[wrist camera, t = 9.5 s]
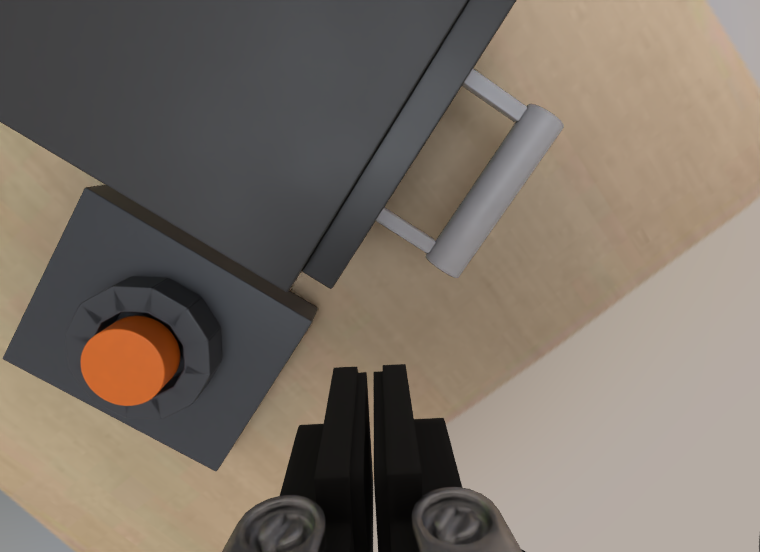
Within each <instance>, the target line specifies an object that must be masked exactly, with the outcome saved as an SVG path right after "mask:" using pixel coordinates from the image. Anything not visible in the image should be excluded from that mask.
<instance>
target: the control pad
mask: <svg viewBox="0 0 760 552" xmlns="http://www.w3.org/2000/svg"><path fill="white" fill-rule="evenodd" d="M316 311H317V307H315V306H314V305H312V304H310V303H309V302H307V301H305V300H304V299H302V298H300V297H299V296H297V295H295V294H294V293H292V292H290V291H288V292H285V291H283V290H282V289H280V288H278V287H277V286H275V285H273V284H272V283H270V282H268V281H266V280H265V279H263V278H261V277H260V276H258V275H256V274H255V273H253V272H251V271H250V270H248V269H246V268H245V267H243V266H241V265H240V264H238V263H236V262H235V261H233V260H231V259H230V258H228V257H226V256H225V255H223V254H221V253H220V252H218V251H216V250H214V249H213V248H211V247H209V246H208V245H206V244H204V243H203V242H201V241H199V240H198V239H196V238H194V237H193V236H191V235H189V234H188V233H186V232H184V231H183V230H181V229H179V228H178V227H176V226H174V225H173V224H171V223H169V222H168V221H166V220H164V219H162V218H161V217H159V216H157V215H156V214H154V213H152V212H151V211H149V210H147V209H146V208H144V207H142V206H141V205H139V204H137V203H136V202H134V201H132V200H131V199H129V198H127V197H126V196H124V195H122V194H121V193H119V192H117V191H116V190H114V189H112V188H110V187H109V186H107V185H102V186H93V187H86V188H85V189H84V191H83V193H82V195H81V197H80V199H79V201H78V203H77V205H76V208H75V210H74V212H73V214H72V216H71V218H70V220H69V222H68V224H67V226H66V228H65V230H64V232H63V234H62V237H61V239H60V241H59V243H58V245H57V247H56V249H55V251H54V253H53V255H52V257H51V259H50V261H49V263H48V266H47V268H46V270H45V272H44V274H43V276H42V278H41V280H40V282H39V284H38V286H37V288H36V290H35V292H34V295H33V297H32V299H31V301H30V303H29V305H28V307H27V309H26V311H25V313H24V315H23V317H22V319H21V321H20V324H19V326H18V328H17V330H16V332H15V334H14V336H13V338H12V340H11V342H10V344H9V346H8V348H7V350H6V353H5V355H4V357H3V359H4V360H6V361H8V362H9V363H11V364H13V365H15V366H17V367H19V368H21V369H23V370H25V371H26V372H28V373H30V374H32V375H34V376H36V377H38V378H40V379H42V380H44V381H45V382H47V383H49V384H51V385H53V386H55V387H57V388H59V389H61V390H62V391H64V392H66V393H68V394H70V395H72V396H74V397H76V398H78V399H80V400H81V401H83V402H85V403H87V404H89V405H91V406H93V407H95V408H97V409H98V410H100V411H102V412H104V413H106V414H108V415H110V416H112V417H114V418H116V419H117V420H119V421H121V422H123V423H125V424H127V425H129V426H131V427H133V428H134V429H136V430H138V431H140V432H142V433H144V434H146V435H148V436H150V437H152V438H153V439H155V440H157V441H159V442H161V443H163V444H165V445H167V446H169V447H170V448H172V449H174V450H176V451H178V452H180V453H182V454H184V455H186V456H188V457H189V458H191V459H193V460H195V461H197V462H199V463H201V464H203V465H205V466H207V467H208V468H210V469H212V470H214V471H217V470H218V469H219V467H220V466H221V464H222V463H223V461H224V459H225V458H226V456H227V455H228V453H229V452H230V450H231V448H232V447H233V445H234V444H235V442H236V441H237V439H238V438H239V436H240V434H241V433H242V431H243V430H244V428H245V427H246V425H247V423H248V422H249V420H250V419H251V417H252V416H253V414H254V413H255V411H256V409H257V408H258V406H259V405H260V403H261V402H262V400H263V398H264V397H265V395H266V394H267V392H268V391H269V389H270V388H271V386H272V384H273V383H274V381H275V380H276V378H277V377H278V375H279V373H280V372H281V370H282V369H283V367H284V366H285V364H286V363H287V361H288V359H289V358H290V356H291V355H292V353H293V352H294V350H295V348H296V347H297V345H298V344H299V342H300V341H301V339H302V338H303V336H304V334H305V333H306V331H307V330H308V328H309V327H310V325H311V323H312V322H313V319H314V317H315V314H316ZM129 316H144V317H148V318H151V319H154V320H156V321H158V322H160V323H161V324H163V325H164V326H165V327H167V328H168V329H169V330H170V331H171V333H172V334H173V335H174V337H175V339H176V340H177V343H178V345H179V349H180V364H179V367H178V369H177V371H176V373H175V375H174V376H173V377H172V378H171V379H170V380H169V381H168V382H167V384H166V385H165V386H164V387H163V388H162V389H161V390H160V391H159V392H158V393H157V394H156V395H155V396H154V397H153V398H152V399H150V400H149V401H147V402H145V403H142V404H139V405H134V406H122V405H117V404H113V403H110V402H108V401H106V400H104V399H102V398H101V397H99V396H98V395H97V394H95V393H94V392H93V391H92V390H91V388H90V387H89V386H88V384H87V383H86V381H85V379H84V377H83V374H82V371H81V355H82V351H83V349H84V347H85V345H86V343H87V342H88V341H89V340H90V339H91V338H92V337H93V336H94V335H96V334H97V333H99V332H101V331H102V330H104V329H105V328H107V327H108V326H110V325H111V324H113V323H115V322H116V321H118V320H120V319H122V318H125V317H129Z"/></svg>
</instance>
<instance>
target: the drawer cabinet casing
mask: <svg viewBox="0 0 760 552" xmlns="http://www.w3.org/2000/svg"><path fill="white" fill-rule="evenodd" d="M467 1H468V0H0V122H1V123H3V124H5V125H6V126H8V127H10V128H12V129H13V130H15V131H17V132H18V133H20V134H22V135H23V136H25V137H27V138H28V139H30V140H32V141H33V142H35V143H37V144H38V145H40V146H42V147H43V148H45V149H47V150H48V151H50V152H52V153H53V154H55V155H57V156H58V157H60V158H62V159H64V160H65V161H67V162H69V163H70V164H72V165H74V166H75V167H77V168H79V169H80V170H82V171H84V172H85V173H87V174H89V175H90V176H92V177H94V178H95V179H97V180H99V181H100V182H102V183H104V184H105V185H107V186H109V187H110V188H112V189H114V190H116V191H117V192H119V193H121V194H122V195H124V196H126V197H127V198H129V199H131V200H132V201H134V202H136V203H137V204H139V205H141V206H142V207H144V208H146V209H147V210H149V211H151V212H152V213H154V214H156V215H157V216H159V217H161V218H162V219H164V220H166V221H168V222H169V223H171V224H173V225H174V226H176V227H178V228H179V229H181V230H183V231H184V232H186V233H188V234H189V235H191V236H193V237H194V238H196V239H198V240H199V241H201V242H203V243H204V244H206V245H208V246H209V247H211V248H213V249H214V250H216V251H218V252H220V253H221V254H223V255H225V256H226V257H228V258H230V259H231V260H233V261H235V262H236V263H238V264H240V265H241V266H243V267H245V268H246V269H248V270H250V271H251V272H253V273H255V274H256V275H258V276H260V277H261V278H263V279H265V280H266V281H268V282H270V283H272V284H273V285H275V286H277V287H278V288H280V289H282V290H283V291H285V292H288V291H289V289H290V288H291V286H292V285H293V283H294V282H295V280H296V279H297V277H298V276H299V274H300V273H301V271H302V269H303V267H304V265H305V264H306V262H307V261H308V259H309V257H310V256H311V254H312V253H313V251H314V249H315V248H316V246H317V244H318V243H319V241H320V240H321V238H322V236H323V235H324V233H325V231H326V230H327V228H328V227H329V225H330V223H331V222H332V220H333V218H334V217H335V215H336V214H337V212H338V210H339V209H340V207H341V206H342V204H343V202H344V201H345V199H346V197H347V196H348V194H349V193H350V191H351V189H352V188H353V186H354V184H355V183H356V181H357V180H358V178H359V176H360V175H361V173H362V171H363V170H364V168H365V167H366V165H367V163H368V162H369V160H370V159H371V157H372V155H373V154H374V152H375V150H376V149H377V147H378V146H379V144H380V142H381V141H382V139H383V137H384V136H385V134H386V133H387V131H388V129H389V128H390V126H391V125H392V123H393V121H394V120H395V118H396V116H397V115H398V113H399V112H400V110H401V108H402V107H403V105H404V103H405V102H406V100H407V99H408V97H409V95H410V94H411V92H412V90H413V89H414V87H415V86H416V84H417V82H418V81H419V79H420V78H421V76H422V74H423V73H424V71H425V69H426V68H427V66H428V65H429V63H430V61H431V60H432V58H433V56H434V55H435V53H436V52H437V50H438V48H439V47H440V45H441V43H442V42H443V40H444V39H445V37H446V35H447V34H448V32H449V31H450V29H451V27H452V26H453V24H454V22H455V21H456V19H457V18H458V16H459V14H460V13H461V11H462V9H463V8H464V6H465V5H466V3H467Z"/></svg>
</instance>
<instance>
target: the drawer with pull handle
mask: <svg viewBox="0 0 760 552" xmlns="http://www.w3.org/2000/svg"><path fill="white" fill-rule="evenodd" d="M515 2H516V0H468V1H467V3H466V5H465V6H464V8H463V9H462V11H461V13H460V14H459V16H458V18H457V19H456V21H455V22H454V24H453V26H452V27H451V29H450V31H449V32H448V34H447V35H446V37H445V39H444V40H443V42H442V43H441V45H440V47H439V48H438V50H437V52H436V53H435V55H434V56H433V58H432V60H431V61H430V63H429V65H428V66H427V68H426V69H425V71H424V73H423V74H422V76H421V78H420V79H419V81H418V82H417V84H416V86H415V87H414V89H413V90H412V92H411V94H410V95H409V97H408V99H407V100H406V102H405V103H404V105H403V107H402V108H401V110H400V112H399V113H398V115H397V116H396V118H395V120H394V121H393V123H392V125H391V126H390V128H389V129H388V131H387V133H386V134H385V136H384V137H383V139H382V141H381V142H380V144H379V146H378V147H377V149H376V150H375V152H374V154H373V155H372V157H371V159H370V160H369V162H368V163H367V165H366V167H365V168H364V170H363V171H362V173H361V175H360V176H359V178H358V180H357V181H356V183H355V184H354V186H353V188H352V189H351V191H350V193H349V194H348V196H347V197H346V199H345V201H344V202H343V204H342V206H341V207H340V209H339V210H338V212H337V214H336V215H335V217H334V218H333V220H332V222H331V223H330V225H329V227H328V228H327V230H326V231H325V233H324V235H323V236H322V238H321V240H320V241H319V243H318V244H317V246H316V248H315V249H314V251H313V253H312V254H311V256H310V257H309V259H308V261H307V262H306V264H305V265H304V267H303V269H302V272H304V273H305V274H307V275H309V276H310V277H312V278H314V279H315V280H317V281H319V282H320V283H322V284H324V285H325V286H327V287H328V288H330V289H332V288H333V287H334V285H335V283H336V282H337V280H338V279H339V277H340V276H341V274H342V272H343V271H344V269H345V268H346V266H347V265H348V263H349V261H350V260H351V258H352V257H353V255H354V254H355V252H356V251H357V249H358V247H359V246H360V244H361V243H362V241H363V240H364V238H365V236H366V235H367V233H368V232H369V230H370V229H371V227H372V226H373V224H374V222H375V221H377V222H378V223H380V224H381V225H383V226H385V227H386V228H388V229H389V230H391V231H392V232H394V233H396V234H397V235H399V236H400V237H402V238H403V239H405V240H407V241H408V242H410V243H411V244H413V245H414V246H416V247H418V248H419V249H421V250H422V251H424V252H425V253H427V254H426V258H427V260H428V261H429V262H431V263H432V264H433V265H434V266H436V267H437V268H438V269H440V270H441V271H443V272H445V273H446V274H448V275H450V276H452V277H454V278H458V277H459V276H460V275H461V273H462V272H463V270H464V269H465V267H466V266H467V265H468V263H469V262H470V260H471V259H472V257H473V256H474V255H475V253H476V252H477V250H478V249H479V248H480V246H481V245H482V243H483V242H484V240H485V239H486V238H487V236H488V235H489V233H490V232H491V230H492V229H493V228H494V226H495V225H496V223H497V222H498V220H499V219H500V218H501V216H502V215H503V213H504V212H505V210H506V209H507V208H508V206H509V205H510V203H511V202H512V201H513V199H514V198H515V196H516V195H517V193H518V192H519V191H520V189H521V188H522V186H523V185H524V183H525V182H526V181H527V179H528V178H529V176H530V175H531V173H532V172H533V171H534V169H535V168H536V166H537V165H538V163H539V162H540V161H541V159H542V158H543V156H544V155H545V153H546V152H547V151H548V149H549V148H550V146H551V145H552V144H553V142H554V141H555V139H556V138H557V136H558V135H559V134H560V132H561V131H562V129H563V127H564V125H563V123H562V122H561V121H560V119H559V118H557V117H556V116H555V115H554V114H552V113H551V112H549V111H548V110H546V109H544V108H542V107H540V106H537V105H534V104H529V105H527V106H525V105H524V104H522V103H521V102H520V101H518V100H517V99H515V98H514V97H513V96H511V95H510V94H508V93H507V92H506V91H504V90H503V89H501V88H500V87H498V86H497V85H496V84H494V83H493V82H491V81H490V80H489V79H487V78H486V77H484V76H483V75H482V74H480V73H479V72H477V71H476V70H474V69H473V68H474V66H475V64H476V63H477V61H478V60H479V58H480V57H481V55H482V53H483V52H484V50H485V49H486V47H487V46H488V44H489V43H490V41H491V39H492V38H493V36H494V35H495V33H496V32H497V30H498V28H499V27H500V25H501V24H502V22H503V21H504V19H505V17H506V16H507V14H508V13H509V11H510V10H511V8H512V7H513V5H514V3H515ZM461 86H463V87H465V88H466V89H468V90H469V91H470V92H472V93H473V94H475V95H476V96H478V97H479V98H480V99H482V100H483V101H485V102H486V103H488V104H489V105H490V106H492V107H493V108H495V109H496V110H498V111H499V112H500V113H502V114H503V115H505V116H506V117H508V118H509V119H510V120H512V121H513V122H516V123H515V124H514V126H513V127H512V129H511V130H510V132H509V133H508V135H507V136H506V138H505V139H504V140H503V142H502V143H501V145H500V146H499V148H498V149H497V151H496V152H495V154H494V155H493V157H492V158H491V160H490V161H489V163H488V164H487V166H486V167H485V169H484V170H483V171H482V173H481V174H480V176H479V177H478V179H477V180H476V182H475V183H474V185H473V186H472V188H471V189H470V191H469V192H468V194H467V195H466V197H465V198H464V200H463V201H462V203H461V204H460V205H459V207H458V208H457V210H456V211H455V213H454V214H453V216H452V217H451V219H450V220H449V222H448V223H447V225H446V226H445V228H444V229H443V231H442V232H441V234H440V235H439V236H438V238H437V239H436V241H435V240H434V239H433V238H432V237H430V236H429V235H427V234H426V233H424V232H423V231H421V230H419V229H418V228H416V227H415V226H413V225H412V224H410V223H409V222H407V221H405V220H404V219H402V218H401V217H399V216H398V215H396V214H395V213H393V212H391V211H390V210H388V209H387V208H385V205H386V204H387V202H388V200H389V199H390V197H391V196H392V194H393V193H394V191H395V190H396V188H397V186H398V185H399V183H400V182H401V180H402V179H403V177H404V175H405V174H406V172H407V171H408V169H409V168H410V166H411V165H412V163H413V161H414V160H415V158H416V157H417V155H418V154H419V152H420V150H421V149H422V147H423V146H424V144H425V143H426V141H427V139H428V138H429V136H430V135H431V133H432V132H433V130H434V129H435V127H436V125H437V124H438V122H439V121H440V119H441V118H442V116H443V114H444V113H445V111H446V110H447V108H448V107H449V105H450V104H451V102H452V100H453V99H454V97H455V96H456V94H457V93H458V91H459V89H460V88H461Z"/></svg>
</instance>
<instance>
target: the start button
mask: <svg viewBox="0 0 760 552" xmlns="http://www.w3.org/2000/svg"><path fill="white" fill-rule="evenodd" d="M179 364H180V349H179V345H178V343H177V340H176V339H175V337H174V335H173V334H172V333H171V331H170V330H169V329H168V328H167V327H165V326H164V325H163V324H161V323H160V322H158V321H156V320H154V319H151V318H148V317H144V316H129V317H125V318H122V319H120V320H118V321H116V322H115V323H113V324H111V325H110V326H108V327H107V328H105V329H104V330H102V331H101V332H99V333H97V334H96V335H94V336H93V337H92V338H91V339H90V340H89V341H88V342H87V343H86V345H85V347H84V349H83V351H82V355H81V371H82V374H83V377H84V379H85V381H86V383H87V384H88V386H89V387H90V388H91V390H92V391H93V392H94V393H95V394H97V395H98V396H99V397H101V398H102V399H104V400H106V401H108V402H110V403H113V404H117V405H122V406H134V405H139V404H142V403H145V402H147V401H149V400H150V399H152V398H153V397H154V396H155V395H156V394H157V393H158V392H159V391H160V390H161V389H162V388H163V387H164V386H165V385H166V384H167V382H168V381H169V380H170V379H171V378H172V377H173V376H174V375H175V373H176V371H177V369H178V367H179Z"/></svg>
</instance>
